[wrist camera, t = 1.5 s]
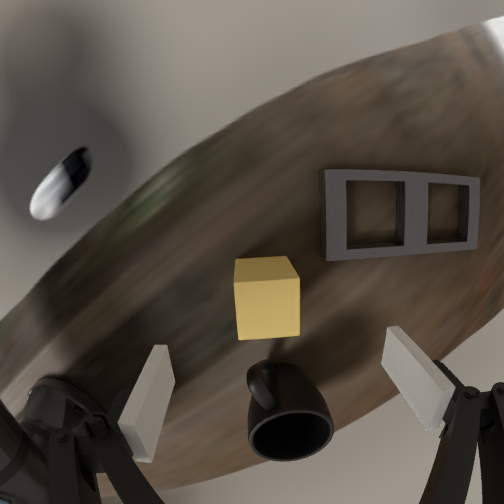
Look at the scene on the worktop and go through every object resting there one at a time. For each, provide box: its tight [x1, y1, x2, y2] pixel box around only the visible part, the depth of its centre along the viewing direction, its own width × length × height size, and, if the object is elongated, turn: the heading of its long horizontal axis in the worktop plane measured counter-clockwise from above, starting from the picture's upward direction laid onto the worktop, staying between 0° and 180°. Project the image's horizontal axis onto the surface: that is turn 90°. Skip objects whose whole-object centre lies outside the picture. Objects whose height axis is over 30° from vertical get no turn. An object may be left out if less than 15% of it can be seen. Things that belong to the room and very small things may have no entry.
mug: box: [247, 359, 334, 462], centre depth 28 cm, size 8×12×10 cm
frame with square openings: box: [319, 169, 480, 261], centre depth 28 cm, size 20×8×2 cm, turn 93°
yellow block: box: [234, 256, 300, 340], centre depth 26 cm, size 5×5×7 cm
